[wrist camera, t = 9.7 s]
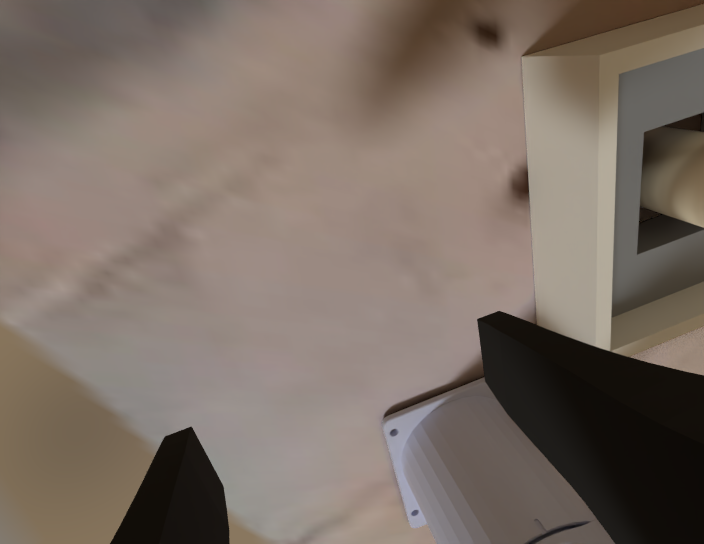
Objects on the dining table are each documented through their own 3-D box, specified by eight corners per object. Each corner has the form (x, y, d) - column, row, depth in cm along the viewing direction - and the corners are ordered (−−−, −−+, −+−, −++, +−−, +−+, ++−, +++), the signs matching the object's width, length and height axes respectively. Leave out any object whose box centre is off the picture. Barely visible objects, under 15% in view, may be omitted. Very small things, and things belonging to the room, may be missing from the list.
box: (740, 245, 28) (826, 275, 24) (536, 324, 26) (595, 370, 22) (785, -20, 22) (912, -38, 18) (521, 56, 20) (599, 55, 16)
